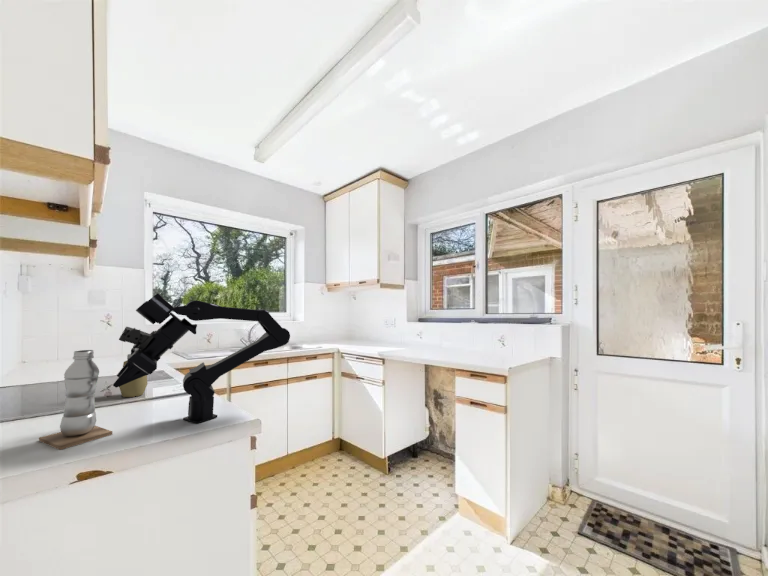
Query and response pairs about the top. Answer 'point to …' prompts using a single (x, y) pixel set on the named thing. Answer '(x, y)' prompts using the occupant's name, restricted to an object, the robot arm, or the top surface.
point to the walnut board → (74, 438)
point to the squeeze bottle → (133, 385)
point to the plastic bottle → (80, 394)
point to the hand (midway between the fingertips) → (116, 381)
